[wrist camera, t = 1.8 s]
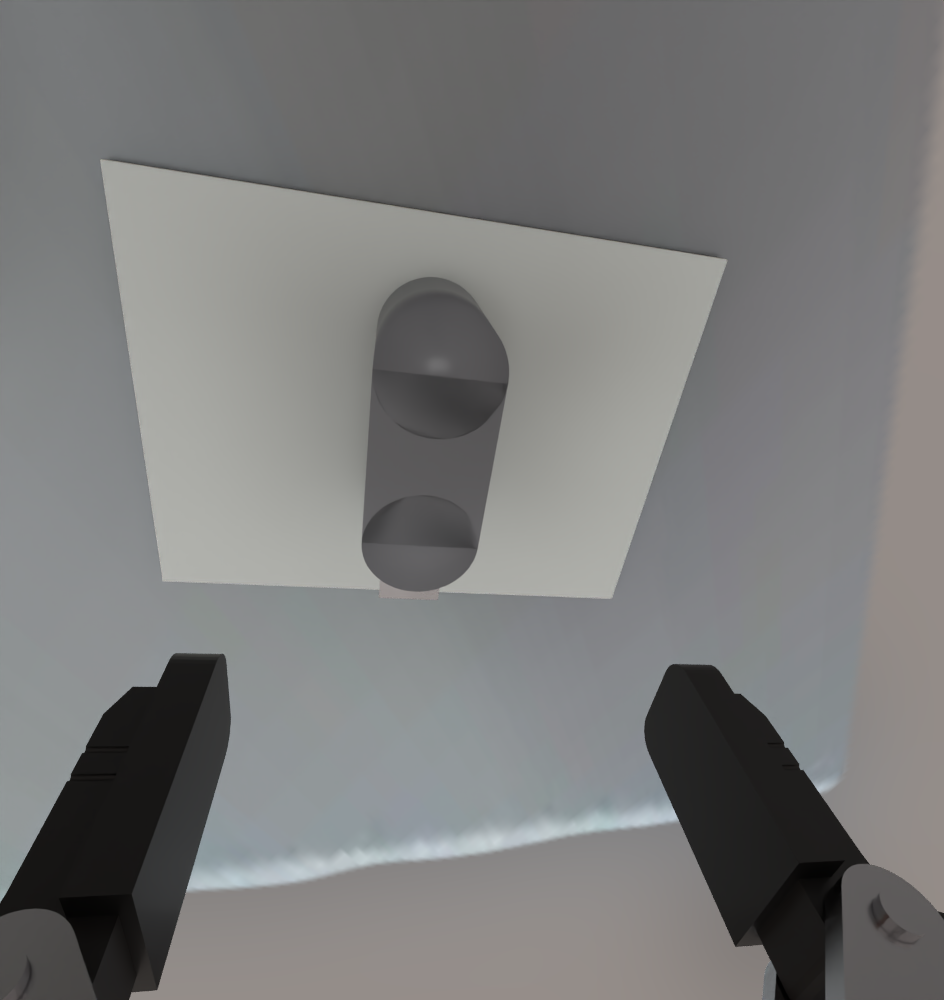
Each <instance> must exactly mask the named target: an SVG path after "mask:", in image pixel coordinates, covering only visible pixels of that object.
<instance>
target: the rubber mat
mask: <svg viewBox="0 0 944 1000" xmlns="http://www.w3.org/2000/svg"><path fill="white" fill-rule="evenodd" d="M100 162H101V169H102V176H103V182H104V189H105V196H106V203H107V209H108V216H109V223H110V229H111V236H112V243H113V250H114V256H115V263H116V270H117V276H118V283H119V290H120V297H121V303H122V310H123V317H124V323H125V330H126V337H127V344H128V350H129V357H130V364H131V370H132V377H133V384H134V391H135V397H136V404H137V411H138V418H139V424H140V431H141V438H142V444H143V451H144V458H145V465H146V471H147V478H148V485H149V491H150V498H151V505H152V512H153V518H154V525H155V532H156V538H157V545H158V552H159V559H160V565H161V572H162V579H163V581H170V582H196V583H221V584H247V585H272V586H298V587H324V588H349V589H375V590H379V581H380V579H378V578H377V577H376V576H375V575H374V574H373V573H372V572H371V571H370V569H369V568H368V566H367V564H366V563H365V560H364V557H363V554H362V527H363V512H364V496H365V480H366V464H367V448H368V432H369V416H370V400H371V385H372V369H373V359H374V350H375V341H376V331H377V323H378V318H379V314H380V312H381V309H382V307H383V305H384V304H385V302H386V300H387V299H388V298H389V296H390V295H391V294H392V293H393V292H394V291H395V290H396V289H398V288H399V287H400V286H402V285H404V284H405V283H407V282H409V281H412V280H415V279H419V278H424V277H437V278H443V279H446V280H449V281H452V282H454V283H456V284H458V285H460V286H461V287H462V288H464V289H465V290H466V291H467V292H468V293H469V294H470V295H471V296H472V297H473V298H474V300H475V301H476V302H477V304H478V305H479V307H480V309H481V310H482V312H483V313H484V315H485V316H486V318H487V319H488V321H489V322H490V324H491V325H492V327H493V328H494V330H495V331H496V333H497V334H498V336H499V338H500V339H501V341H502V343H503V345H504V348H505V350H506V354H507V357H508V363H509V381H508V387H507V393H506V398H505V404H504V409H503V414H502V420H501V425H500V431H499V436H498V442H497V447H496V452H495V458H494V463H493V469H492V474H491V479H490V485H489V490H488V496H487V501H486V507H485V512H484V517H483V523H482V528H481V534H480V539H479V544H478V550H477V553H476V556H475V559H474V561H473V563H472V564H471V566H470V567H469V569H468V570H467V571H466V572H465V573H464V574H463V575H462V576H461V577H460V578H458V579H457V580H456V581H454V582H452V583H451V584H449V585H446V586H444V587H441V588H439V592H452V593H477V594H503V595H528V596H554V597H580V598H605V599H612V596H613V593H614V590H615V587H616V584H617V582H618V579H619V576H620V573H621V570H622V567H623V564H624V561H625V558H626V555H627V552H628V549H629V546H630V544H631V541H632V538H633V535H634V532H635V529H636V526H637V523H638V520H639V517H640V514H641V511H642V508H643V506H644V503H645V500H646V497H647V494H648V491H649V488H650V485H651V482H652V479H653V476H654V473H655V470H656V468H657V465H658V462H659V459H660V456H661V453H662V450H663V447H664V444H665V441H666V438H667V435H668V432H669V430H670V427H671V424H672V421H673V418H674V415H675V412H676V409H677V406H678V403H679V400H680V397H681V394H682V392H683V389H684V386H685V383H686V380H687V377H688V374H689V371H690V368H691V365H692V362H693V359H694V356H695V354H696V351H697V348H698V345H699V342H700V339H701V336H702V333H703V330H704V327H705V324H706V321H707V318H708V316H709V313H710V310H711V307H712V304H713V301H714V298H715V295H716V292H717V289H718V286H719V283H720V280H721V278H722V275H723V272H724V269H725V266H726V263H727V259H723V258H718V257H712V256H706V255H700V254H693V253H687V252H681V251H675V250H668V249H662V248H656V247H650V246H643V245H637V244H631V243H625V242H619V241H612V240H606V239H600V238H594V237H587V236H581V235H575V234H569V233H562V232H556V231H550V230H544V229H538V228H531V227H525V226H519V225H513V224H506V223H500V222H494V221H488V220H481V219H475V218H469V217H463V216H457V215H450V214H444V213H438V212H432V211H425V210H419V209H413V208H407V207H400V206H394V205H388V204H382V203H376V202H369V201H363V200H357V199H351V198H344V197H338V196H332V195H326V194H319V193H313V192H307V191H301V190H295V189H288V188H282V187H276V186H270V185H263V184H257V183H251V182H245V181H238V180H232V179H226V178H220V177H214V176H207V175H201V174H195V173H189V172H182V171H176V170H170V169H164V168H157V167H151V166H145V165H139V164H133V163H126V162H120V161H114V160H106V159H100Z"/></svg>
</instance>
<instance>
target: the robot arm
mask: <svg viewBox="0 0 944 1000" xmlns="http://www.w3.org/2000/svg"><path fill="white" fill-rule="evenodd" d="M230 724H231V713H230V701H229V689H228V677H227V665H226V658H225V656H224V654H187V653H175V654H174V655H173V656H172V657H171V658H170V660H169V662H168V664H167V666H166V668H165V671H164V673H163V675H162V677H161V679H160V681H159V683H158V686H157V687H132V688H131V689H130V690H129V691H128V692H127V693H126V694H125V695H123V696H122V697H121V698H120V699H119V700H118V701H117V702H116V703H115V704H114V705H113V706H112V707H111V708H109V709H108V710H107V711H106V712H105V713H104V714H103V716H102V718H101V720H100V721H99V723H98V725H97V727H96V729H95V731H94V732H93V734H92V736H91V738H90V740H89V742H88V744H87V745H86V751H85V753H82V755H81V756H80V758H79V760H78V762H77V764H76V766H75V768H74V769H73V771H72V773H71V778H70V781H67V782H66V784H65V786H64V788H63V790H62V792H61V793H60V795H59V797H58V799H57V801H56V803H55V804H54V806H53V808H52V810H51V812H50V814H49V815H48V817H47V819H46V821H45V823H44V825H43V827H42V828H41V830H40V832H39V834H38V836H37V838H36V839H35V841H34V843H33V845H32V847H31V849H30V851H29V852H28V854H27V856H26V858H25V860H24V862H23V863H22V865H21V867H20V869H19V871H18V873H17V875H16V876H15V878H14V880H13V882H12V884H11V886H10V887H9V889H8V891H7V893H6V895H5V896H4V898H3V899H2V901H1V903H0V1000H129V998H130V995H131V992H140V991H153V990H157V989H158V985H159V982H160V979H161V975H162V971H163V968H164V965H165V961H166V958H167V955H168V951H169V947H170V944H171V940H172V937H173V934H174V931H175V927H176V923H177V920H178V917H179V913H180V910H181V906H182V903H183V899H184V896H185V893H186V889H187V886H188V882H189V879H190V876H191V872H192V869H193V865H194V862H195V858H196V855H197V851H198V848H199V845H200V841H201V838H202V834H203V831H204V827H205V824H206V821H207V817H208V814H209V810H210V807H211V803H212V800H213V797H214V793H215V790H216V786H217V783H218V779H219V776H220V772H221V769H222V766H223V762H224V759H225V755H226V751H227V747H228V741H229V735H230ZM644 733H645V741H646V746H647V749H648V752H649V754H650V757H651V759H652V761H653V763H654V766H655V768H656V770H657V772H658V775H659V777H660V779H661V781H662V784H663V786H664V788H665V790H666V792H667V795H668V797H669V799H670V801H671V804H672V806H673V808H674V810H675V813H676V815H677V817H678V819H679V822H680V824H681V825H682V828H683V830H684V833H685V835H686V837H687V839H688V842H689V844H690V846H691V848H692V850H693V853H694V855H695V857H696V859H697V862H698V864H699V866H700V868H701V871H702V873H703V875H704V877H705V880H706V882H707V884H708V886H709V889H710V891H711V893H712V895H713V898H714V900H715V902H716V904H717V906H718V909H719V911H720V913H721V916H722V918H723V920H724V922H725V924H726V927H727V929H728V931H729V933H730V936H731V938H732V940H733V942H734V945H735V946H736V947H738V946H752V945H763V946H764V948H765V950H766V952H767V954H768V956H769V958H770V960H771V961H770V962H769V963H768V965H767V967H766V970H765V975H764V986H763V998H762V1000H944V913H941V912H938V911H937V910H936V909H935V908H934V907H933V905H932V904H931V903H930V902H929V901H928V900H927V899H926V898H925V897H924V896H923V895H922V894H921V893H920V892H919V891H918V890H916V889H915V888H914V887H913V886H912V885H911V884H909V883H908V882H906V881H905V880H904V879H902V878H901V877H899V876H897V875H896V874H894V873H892V872H890V871H888V870H886V869H883V868H881V867H878V866H875V865H870V864H869V863H868V862H867V860H866V859H865V858H864V856H863V855H862V854H861V853H860V851H859V850H858V848H857V847H856V845H855V844H854V842H853V841H852V839H851V838H850V837H849V835H848V834H847V832H846V831H845V830H844V828H843V827H842V825H841V824H840V822H839V821H838V819H837V818H836V817H835V815H834V814H833V812H832V811H831V809H830V808H829V806H828V805H827V803H826V802H825V801H824V799H823V798H822V796H821V795H820V793H819V792H818V791H817V789H816V788H815V786H814V785H813V783H812V782H811V780H810V779H809V778H808V776H807V775H806V773H805V772H804V770H800V768H799V763H798V762H797V760H796V759H795V757H794V756H793V755H792V753H791V752H790V750H789V749H788V748H785V747H784V742H783V740H782V739H781V737H780V736H779V734H778V733H777V732H776V730H775V729H774V727H773V726H772V724H771V723H770V722H769V720H768V719H767V717H766V716H765V715H764V714H763V713H762V712H760V711H759V710H758V709H757V708H756V707H755V706H754V705H753V704H751V703H750V702H749V701H748V700H747V699H746V698H745V697H744V696H742V695H741V694H734V692H733V691H732V689H731V688H730V686H729V685H728V683H727V682H726V680H725V679H724V677H723V676H722V674H721V673H720V672H719V670H718V669H717V668H715V667H714V666H712V665H688V664H673V665H671V666H669V667H668V669H667V670H666V672H665V675H664V677H663V679H662V682H661V684H660V686H659V689H658V691H657V693H656V696H655V698H654V700H653V702H652V705H651V707H650V709H649V712H648V714H647V717H646V720H645V727H644Z"/></svg>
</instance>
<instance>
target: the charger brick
mask: <svg viewBox="0 0 944 1000" xmlns="http://www.w3.org/2000/svg"><path fill="white" fill-rule="evenodd" d="M508 381H509V363H508V357H507V354H506V350H505V348H504V345H503V343H502V341H501V339H500V338H499V336H498V334H497V333H496V331H495V330H494V328H493V327H492V325H491V324H490V322H489V321H488V319H487V318H486V316H485V315H484V313H483V312H482V310H481V309H480V307H479V305H478V304H477V302H476V301H475V300H474V298H473V297H472V296H471V295H470V294H469V293H468V292H467V291H466V290H465V289H464V288H462V287H461V286H460V285H458V284H456V283H454V282H452V281H449V280H446V279H443V278H437V277H424V278H419V279H415V280H412V281H409V282H407V283H405V284H404V285H402V286H400V287H399V288H398V289H396V290H395V291H394V292H393V293H392V294H391V295H390V296H389V298H388V299H387V300H386V302H385V304H384V305H383V307H382V309H381V312H380V314H379V318H378V323H377V331H376V341H375V350H374V359H373V369H372V385H371V400H370V416H369V432H368V448H367V464H366V480H365V496H364V512H363V527H362V554H363V557H364V560H365V563H366V564H367V566H368V568H369V569H370V571H371V572H372V573H373V574H374V575H375V576H376V577H377V578H378V579H380V581H379V598H399V599H426V600H438V594H439V588H441V587H444V586H446V585H449V584H451V583H452V582H454V581H456V580H457V579H458V578H460V577H461V576H462V575H463V574H464V573H465V572H466V571H467V570H468V569H469V567H470V566H471V564H472V563H473V561H474V559H475V556H476V553H477V550H478V544H479V539H480V534H481V528H482V523H483V517H484V512H485V507H486V501H487V496H488V490H489V485H490V479H491V474H492V469H493V463H494V458H495V452H496V447H497V442H498V436H499V431H500V425H501V420H502V414H503V409H504V404H505V398H506V393H507V387H508Z"/></svg>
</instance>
